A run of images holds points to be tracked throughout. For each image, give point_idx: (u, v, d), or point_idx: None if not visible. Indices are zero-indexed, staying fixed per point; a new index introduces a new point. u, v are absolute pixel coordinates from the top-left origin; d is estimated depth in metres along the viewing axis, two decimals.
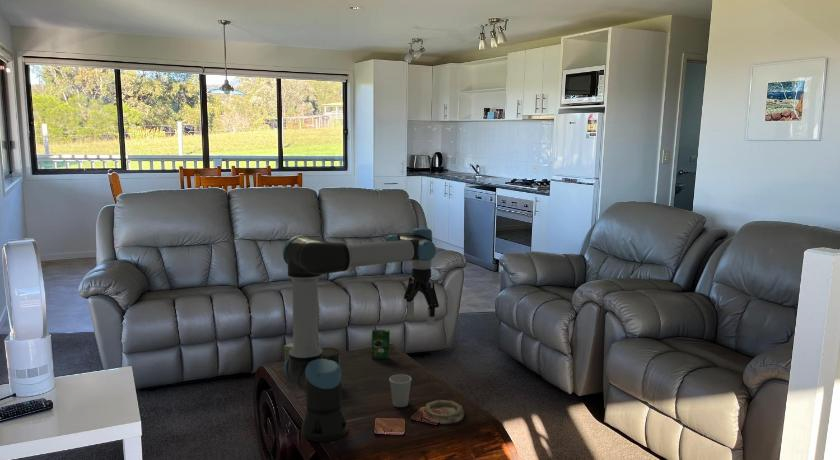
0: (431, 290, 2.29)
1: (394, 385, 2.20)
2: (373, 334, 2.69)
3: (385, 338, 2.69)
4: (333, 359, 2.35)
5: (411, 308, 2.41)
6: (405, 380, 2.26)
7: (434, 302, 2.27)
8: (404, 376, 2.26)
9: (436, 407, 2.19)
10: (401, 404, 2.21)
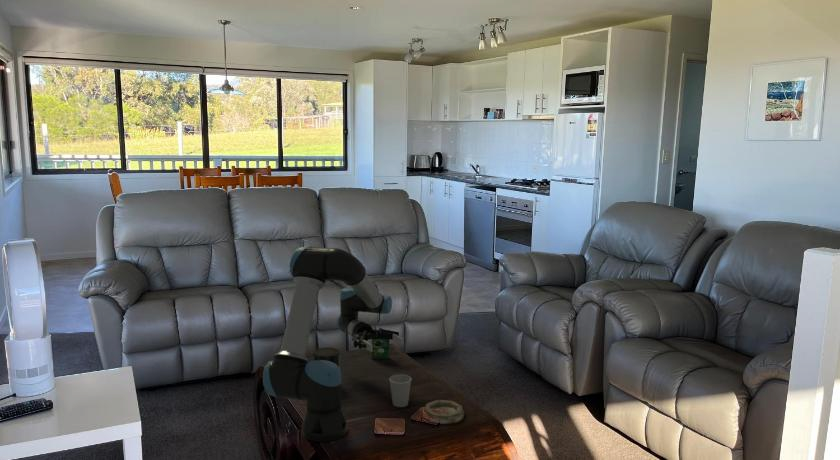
0: None
1: (394, 385, 2.20)
2: None
3: None
4: (333, 359, 2.35)
5: None
6: (405, 380, 2.26)
7: None
8: (404, 376, 2.26)
9: (436, 407, 2.19)
10: (401, 404, 2.21)
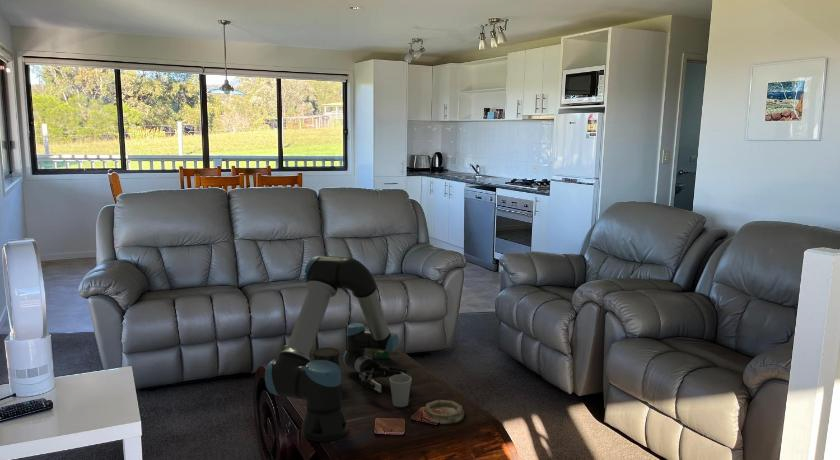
0: None
1: (394, 385, 2.20)
2: None
3: None
4: (333, 359, 2.35)
5: None
6: (405, 380, 2.26)
7: None
8: (404, 376, 2.26)
9: (436, 407, 2.19)
10: (401, 404, 2.21)
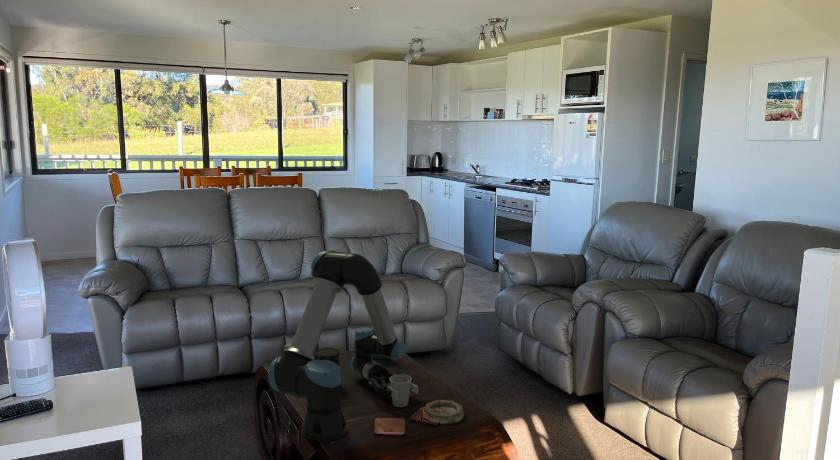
0: None
1: (394, 385, 2.20)
2: (373, 334, 2.69)
3: None
4: (333, 359, 2.35)
5: None
6: (405, 380, 2.26)
7: None
8: (404, 376, 2.26)
9: (436, 407, 2.19)
10: (401, 404, 2.21)
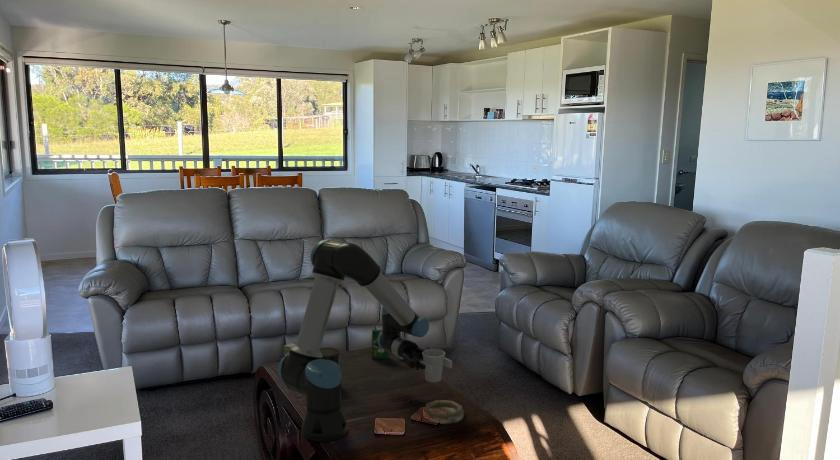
0: None
1: (428, 359, 2.13)
2: (373, 334, 2.69)
3: None
4: (333, 359, 2.35)
5: None
6: (438, 355, 2.19)
7: None
8: (437, 351, 2.19)
9: (436, 407, 2.19)
10: (435, 379, 2.14)
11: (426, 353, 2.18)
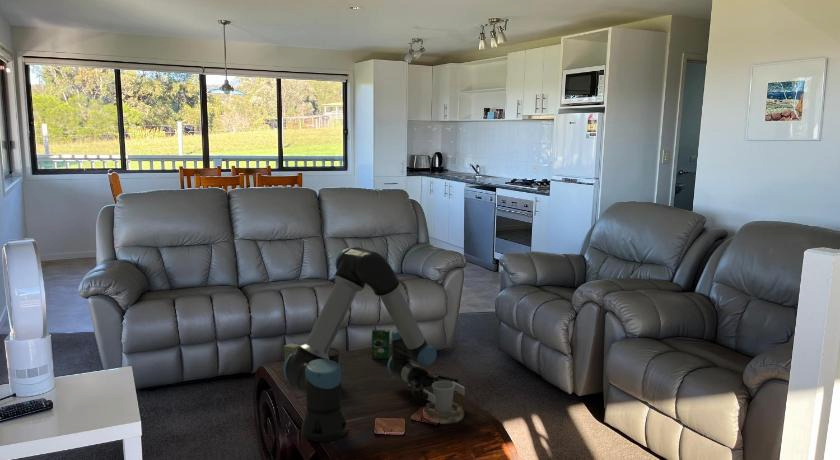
0: None
1: (437, 391, 2.11)
2: (373, 334, 2.69)
3: (385, 338, 2.69)
4: (333, 359, 2.35)
5: None
6: (448, 386, 2.17)
7: None
8: (446, 382, 2.18)
9: None
10: (444, 411, 2.12)
11: (436, 385, 2.17)
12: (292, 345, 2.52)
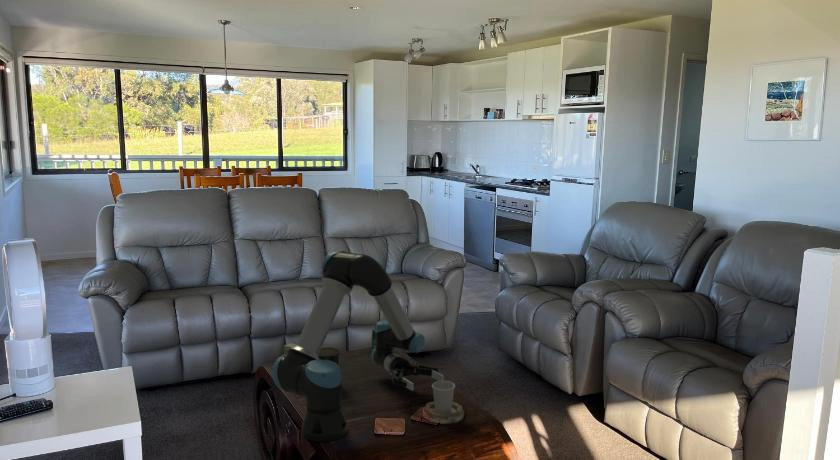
0: None
1: (437, 392, 2.11)
2: (373, 334, 2.69)
3: None
4: (333, 359, 2.35)
5: None
6: (448, 387, 2.17)
7: None
8: (446, 382, 2.17)
9: None
10: (444, 412, 2.12)
11: (436, 385, 2.17)
12: (292, 345, 2.52)
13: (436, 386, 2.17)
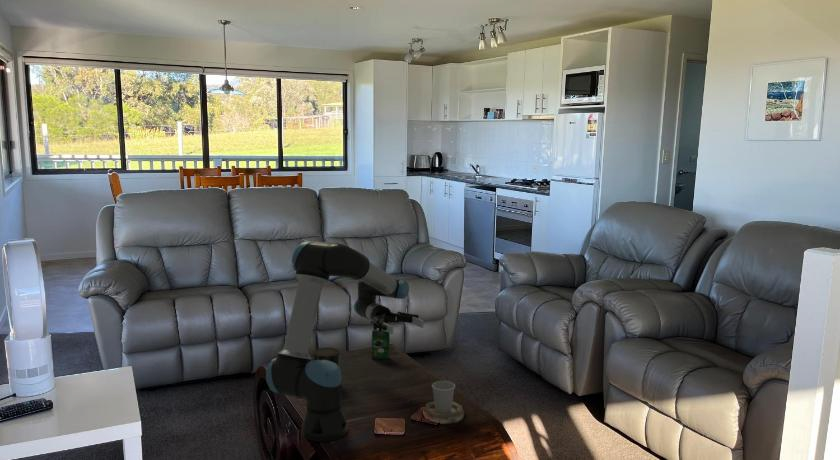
0: None
1: (437, 392, 2.11)
2: (373, 334, 2.69)
3: (385, 338, 2.69)
4: (333, 359, 2.35)
5: None
6: (448, 387, 2.17)
7: None
8: (446, 382, 2.17)
9: None
10: (444, 412, 2.12)
11: (436, 385, 2.17)
12: None
13: (436, 386, 2.17)
